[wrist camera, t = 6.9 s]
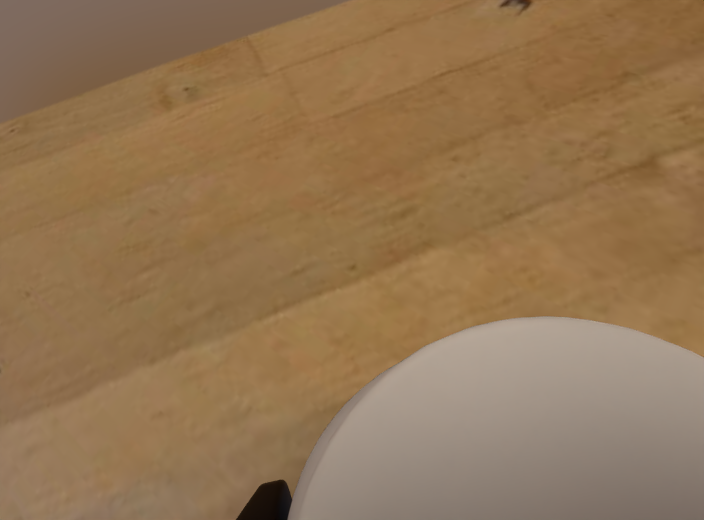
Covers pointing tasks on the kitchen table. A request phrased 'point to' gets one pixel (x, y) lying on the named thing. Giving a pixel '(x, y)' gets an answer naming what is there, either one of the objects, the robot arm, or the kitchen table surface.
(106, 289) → the kitchen table surface
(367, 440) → the pill bottle
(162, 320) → the kitchen table surface
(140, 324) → the kitchen table surface
